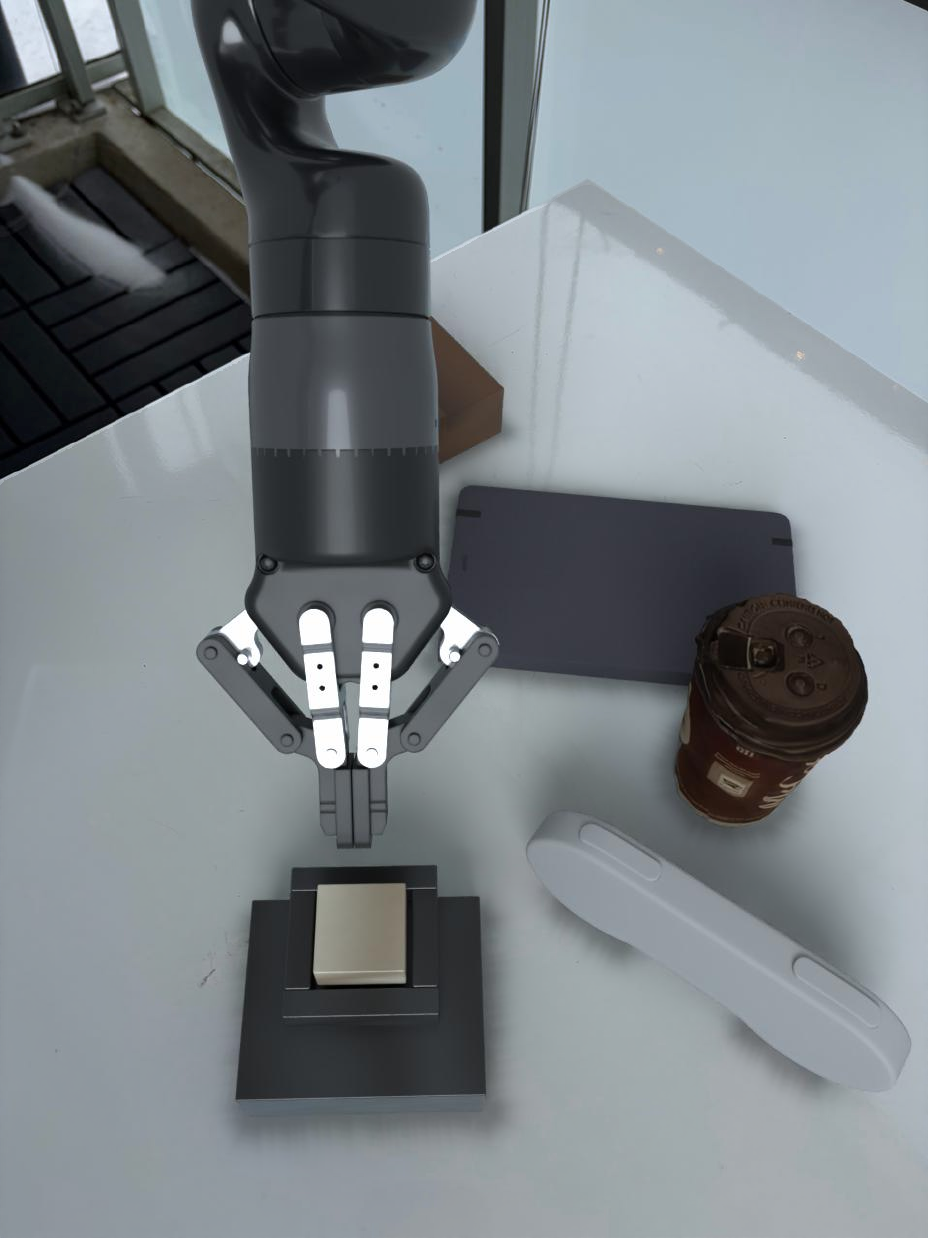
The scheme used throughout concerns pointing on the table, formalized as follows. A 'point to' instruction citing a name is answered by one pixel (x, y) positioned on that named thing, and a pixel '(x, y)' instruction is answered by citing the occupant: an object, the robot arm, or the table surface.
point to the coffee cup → (765, 705)
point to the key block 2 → (463, 397)
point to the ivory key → (360, 934)
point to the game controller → (721, 951)
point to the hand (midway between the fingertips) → (356, 841)
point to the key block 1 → (363, 1009)
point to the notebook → (608, 577)
